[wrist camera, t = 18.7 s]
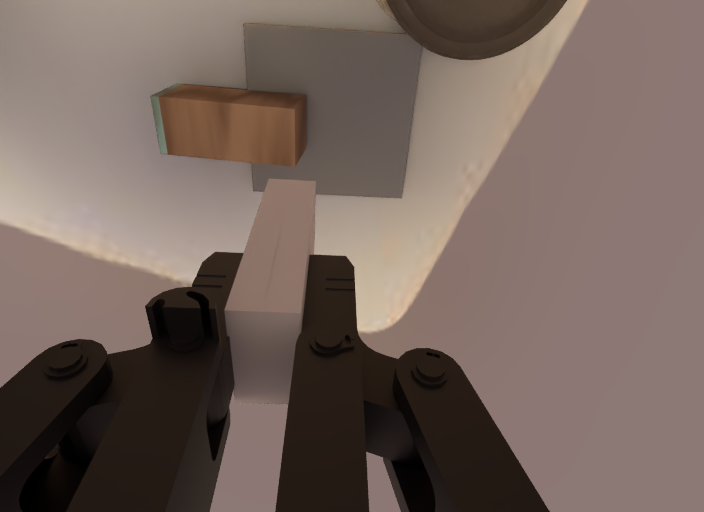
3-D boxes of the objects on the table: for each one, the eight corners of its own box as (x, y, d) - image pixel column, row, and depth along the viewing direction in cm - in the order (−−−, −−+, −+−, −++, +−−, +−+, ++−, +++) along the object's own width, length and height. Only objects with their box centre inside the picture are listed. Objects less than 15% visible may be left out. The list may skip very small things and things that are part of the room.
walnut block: (306, 148, 39) (184, 136, 40) (306, 95, 37) (176, 83, 38) (295, 166, 36) (160, 153, 36) (294, 109, 33) (150, 95, 34)
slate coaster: (254, 187, 43) (253, 191, 42) (245, 22, 35) (243, 24, 35) (400, 194, 44) (401, 198, 43) (421, 34, 36) (423, 36, 35)
